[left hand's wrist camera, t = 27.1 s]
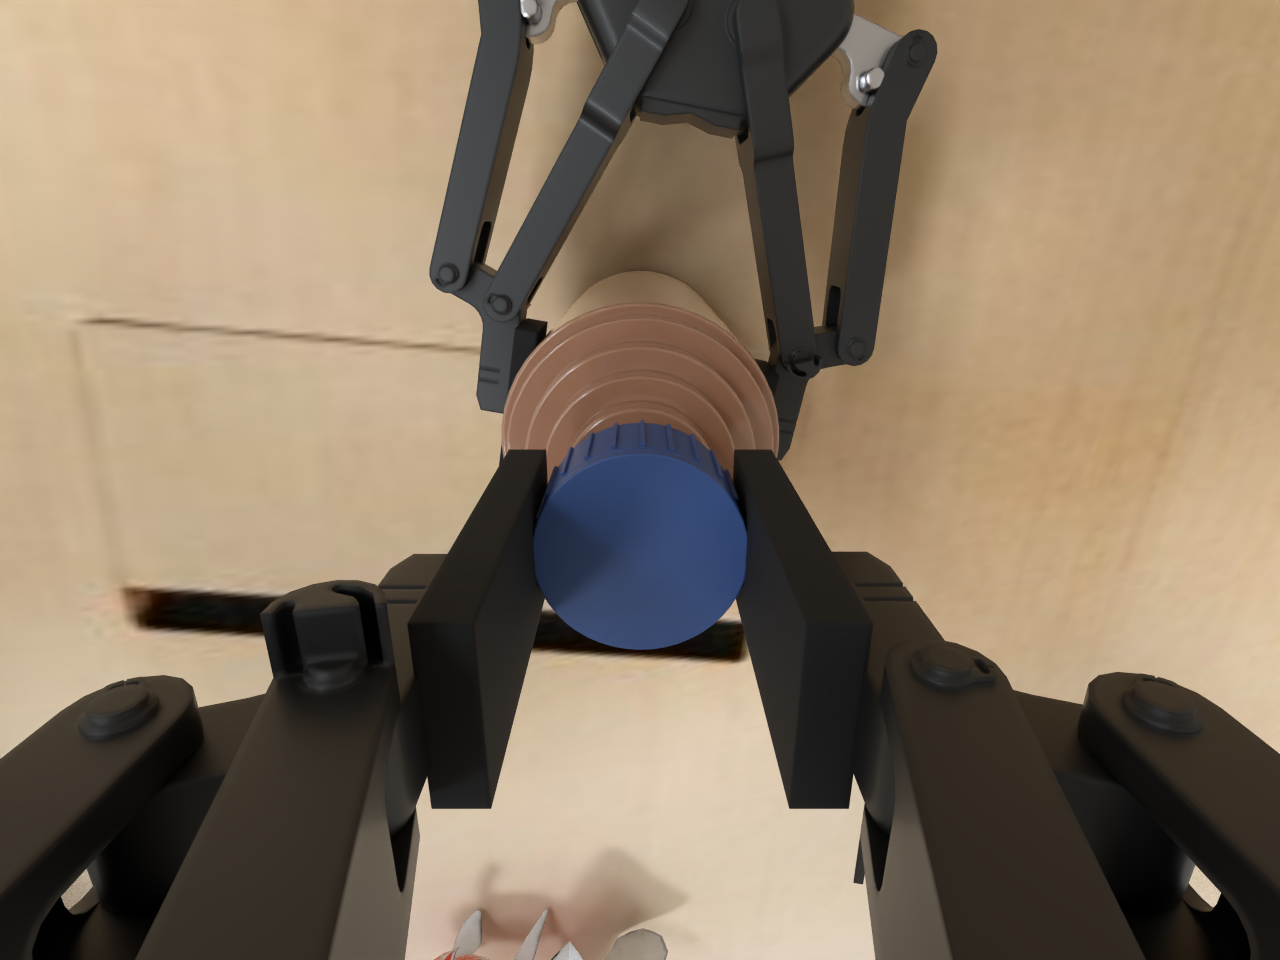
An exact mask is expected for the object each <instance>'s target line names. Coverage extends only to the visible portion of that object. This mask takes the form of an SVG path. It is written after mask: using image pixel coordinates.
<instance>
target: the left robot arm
mask: <svg viewBox="0 0 1280 960" xmlns="http://www.w3.org/2000/svg"><path fill="white" fill-rule="evenodd" d="M733 484H734V487H735V489H736V492H737V495H738V498H739V500H737V502H738V505H739V508H740V511H741V514H742V516H743V519H744V522H745V526H746V529H747V550H746V567H745V579H744V583H743V585H742V587H741V589H740V591H739V594H738V595H737V597H736V602H737V605H738V609H739V613H740V617H741V621H742V625H743V629H744V633H745V637H746V641H747V645H748V649H749V652H750V656H751V660H752V664H753V668H754V672H755V676H756V680H757V684H758V688H759V692H760V695H761V699H762V703H763V707H764V711H765V715H766V719H767V723H768V727H769V731H770V735H771V739H772V742H773V746H774V750H775V754H776V758H777V762H778V766H779V770H780V774H781V778H782V782H783V785H784V789H785V793H786V797H787V801H788V805H789V809H849V803H850V795H851V788H852V780H853V773H854V776H855V778H856V781H857V784H858V786H859V789H860V791H861V794H862V796H863V799H864V802H865V805H864V812H863V819H862V826H861V833H860V840H859V847H858V854H857V861H856V868H855V875H854V883H858V884H863V881H864V875H865V878H866V886H867V894H868V902H869V910H870V918H871V927H872V935H873V943H874V951H875V959H876V960H1280V754H1279V753H1278V752H1277V751H1275V750H1274V749H1273V748H1271V747H1270V746H1269V745H1268V744H1266V743H1265V742H1264V741H1263V740H1261V739H1260V738H1259V737H1257V736H1256V735H1255V734H1254V733H1252V732H1251V731H1250V730H1248V729H1247V728H1246V727H1245V726H1243V725H1242V724H1241V723H1240V722H1238V721H1237V720H1236V719H1234V718H1233V717H1232V716H1231V715H1229V714H1228V713H1227V712H1226V711H1224V710H1223V709H1222V708H1220V707H1219V706H1217V705H1215V704H1214V703H1212V702H1211V701H1209V700H1208V699H1206V698H1204V697H1203V696H1201V695H1200V694H1198V693H1196V692H1194V691H1191V690H1189V689H1187V688H1184V687H1182V686H1180V685H1177V684H1176V683H1175V682H1173V681H1170V680H1167V679H1163V678H1160V677H1158V678H1155V676H1152V675H1146V674H1135V673H1123V672H1115V673H1109V674H1104V675H1099V676H1097V677H1096V678H1095V679H1094V680H1093V681H1091V682H1090V683H1089V685H1088V688H1087V692H1086V696H1085V700H1084V703H1083V705H1082V704H1077V703H1072V702H1066V701H1061V700H1056V699H1051V698H1046V697H1041V696H1035V695H1031V694H1027V693H1023V692H1019V691H1015V690H1013V689H1012V687H1011V685H1010V683H1009V681H1008V679H1007V677H1006V676H1005V674H1004V673H1003V672H1002V671H1001V669H1000V668H999V667H998V666H997V665H996V663H994V662H993V661H991V660H990V659H988V658H987V657H985V656H983V655H982V654H980V653H979V652H977V651H975V650H972V649H970V648H967V647H964V646H962V645H959V644H957V643H953V642H948V641H945V640H944V639H943V638H942V636H941V635H940V633H939V632H938V631H937V629H936V628H935V627H934V625H933V624H932V623H931V621H930V620H929V618H928V617H927V616H926V614H925V613H924V612H923V610H922V609H921V608H920V606H919V605H918V603H917V602H916V601H913V597H912V595H911V594H910V593H909V591H908V590H907V588H906V587H903V583H902V582H901V580H900V579H899V578H898V576H897V575H896V573H895V572H894V571H893V569H892V568H891V567H890V566H889V565H887V564H886V563H884V562H883V561H881V560H879V559H878V558H876V557H875V556H873V555H871V554H870V553H868V552H831V550H830V548H829V547H828V545H827V543H826V542H825V540H824V538H823V537H822V535H821V533H820V531H819V530H818V528H817V526H816V525H815V523H814V521H813V519H812V518H811V516H810V514H809V513H808V511H807V509H806V508H805V506H804V504H803V502H802V501H801V499H800V497H799V496H798V494H797V492H796V490H795V489H794V487H793V485H792V484H791V482H790V480H789V479H788V477H787V475H786V473H785V472H784V470H783V468H782V467H781V465H780V463H779V461H778V460H777V458H776V456H775V455H774V453H773V451H772V449H734V464H733ZM547 485H548V475H547V455H546V449H509V450H508V452H507V454H506V455H505V457H504V459H503V460H502V462H501V464H500V466H499V467H498V469H497V471H496V472H495V474H494V476H493V478H492V479H491V481H490V483H489V484H488V486H487V488H486V490H485V491H484V493H483V495H482V496H481V498H480V500H479V501H478V503H477V505H476V507H475V508H474V510H473V512H472V513H471V515H470V517H469V519H468V520H467V522H466V524H465V525H464V527H463V529H462V531H461V532H460V534H459V536H458V537H457V539H456V541H455V542H454V544H453V546H452V548H451V549H450V551H449V553H448V554H413V555H411V556H410V557H408V558H407V559H405V560H404V561H402V562H400V563H399V564H397V565H396V566H394V567H392V568H391V569H390V570H389V571H388V573H387V574H386V576H385V577H384V578H383V580H382V581H381V582H380V584H379V585H378V586H376V585H375V584H371V583H367V582H363V581H359V580H336V581H330V582H324V583H318V584H312V585H310V586H307V587H304V588H301V589H298V590H295V591H292V592H289V593H288V594H286V595H284V596H282V597H280V598H279V599H277V600H275V601H273V602H272V603H271V604H270V605H269V606H268V607H267V608H266V609H265V610H264V611H263V612H262V613H261V614H260V617H261V622H262V626H263V631H264V636H265V640H266V645H267V649H268V654H269V659H270V663H271V668H272V673H273V677H274V678H273V680H272V682H271V684H270V686H269V688H268V690H267V692H266V694H262V695H258V696H254V697H250V698H246V699H241V700H235V701H230V702H225V703H220V704H215V705H210V706H205V707H200V708H198V705H197V701H196V697H195V694H194V690H193V687H192V686H191V685H190V684H189V683H187V682H186V681H185V680H184V679H182V678H177V677H171V676H166V675H161V676H149V677H137V678H131V679H127V681H124V680H122V681H119V682H116V683H113V684H110V685H107V686H106V687H104V688H103V689H100V690H98V691H96V692H93V693H91V694H89V695H86V696H84V697H83V698H81V699H79V700H78V701H76V702H75V703H73V704H72V705H70V706H68V707H67V708H65V709H64V710H62V711H61V712H59V713H58V714H57V715H56V716H54V717H53V718H52V719H50V720H49V721H48V722H47V723H45V724H44V725H43V726H42V727H40V728H39V729H38V730H37V731H35V732H34V733H33V734H32V735H30V736H29V737H28V738H26V739H25V740H24V741H23V742H21V743H20V744H19V745H18V746H16V747H15V748H14V749H13V750H11V751H10V752H9V753H7V754H6V755H5V756H4V757H2V758H1V759H0V960H405V952H406V944H407V936H408V928H409V920H410V912H411V904H412V896H413V888H414V880H415V872H416V864H417V856H418V847H419V839H420V834H419V827H418V819H417V812H416V804H417V801H418V799H419V796H420V794H421V791H422V788H423V786H424V783H425V781H426V778H427V777H428V784H429V792H430V799H431V807H432V809H491V807H492V803H493V799H494V795H495V791H496V787H497V783H498V779H499V776H500V772H501V768H502V764H503V760H504V756H505V752H506V748H507V744H508V740H509V736H510V732H511V729H512V725H513V721H514V717H515V713H516V709H517V705H518V701H519V697H520V693H521V689H522V685H523V682H524V678H525V674H526V670H527V666H528V662H529V658H530V654H531V650H532V646H533V642H534V638H535V635H536V631H537V627H538V623H539V619H540V615H541V611H542V607H543V603H544V599H545V597H544V595H543V594H542V592H541V590H540V587H539V585H538V582H537V580H536V575H535V560H534V542H533V534H534V529H535V526H536V523H537V521H536V516H537V513H538V510H539V507H540V505H541V502H542V499H543V496H544V493H545V491H546V488H547ZM1195 865H1196V866H1197V867H1198V868H1199V869H1200V870H1201V871H1202V872H1203V873H1204V874H1205V876H1206V877H1207V878H1208V879H1209V880H1210V881H1211V882H1212V883H1213V884H1214V885H1215V886H1216V887H1217V889H1218V890H1219V891H1220V892H1221V895H1220V897H1219V900H1218V902H1217V904H1216V906H1215V907H1214V908H1213V907H1211V906H1210V905H1209V904H1208V903H1207V902H1206V901H1204V900H1203V899H1202V898H1201V897H1200V896H1199V895H1198V894H1197V892H1196V891H1195V890H1194V889H1193V888H1192V887H1191V886H1190V885H1189V881H1190V878H1191V875H1192V872H1193V870H1194V867H1195ZM86 868H87V871H88V873H89V876H90V879H91V882H92V884H93V887H92V888H91V889H90V890H89V891H88V893H87V894H86V895H85V896H84V897H83V898H82V899H81V900H80V901H79V902H78V903H77V904H75V905H74V906H73V907H72V908H71V909H69V910H68V909H67V908H65V906H64V903H63V901H62V898H61V896H62V895H63V893H64V892H65V891H66V890H67V889H68V888H69V887H70V886H71V885H72V884H73V883H74V881H75V880H76V879H77V878H78V877H79V876H80V875H81V874H82V873H83V872H84V871H85V869H86Z"/></svg>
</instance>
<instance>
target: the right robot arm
mask: <svg viewBox="0 0 1280 960" xmlns="http://www.w3.org/2000/svg"><path fill="white" fill-rule="evenodd" d="M573 2H577V4H578V6H579V9H580V11H581V13H582V15H583V18H584V20H585V22H586V25H587V27H588V29H589V31H590V34H591V36H592V38H593V41H594V43H595V45H596V47H597V50H598V52H599V54H600V56H601V59H602V61H603V63H604V66H605V67H604V68H603V70H602V72H601V74H600V76H599V78H598V80H597V82H596V83H595V85H594V87H593V89H592V91H591V93H590V95H589V97H588V99H587V101H586V103H585V105H584V108H583V111H582V114H581V116H580V118H579V120H578V122H577V124H576V126H575V128H574V130H573V131H572V133H571V135H570V137H569V139H568V141H567V143H566V144H565V146H564V148H563V150H562V152H561V154H560V156H559V158H558V159H557V161H556V163H555V165H554V167H553V169H552V171H551V172H550V174H549V176H548V178H547V180H546V182H545V184H544V185H543V187H542V189H541V191H540V193H539V195H538V197H537V198H536V200H535V202H534V204H533V206H532V208H531V210H530V212H529V213H528V215H527V217H526V219H525V221H524V223H523V225H522V226H521V228H520V230H519V232H518V234H517V236H516V238H515V239H514V241H513V243H512V245H511V247H510V249H509V251H508V253H507V254H506V256H505V258H504V260H503V262H502V264H501V266H500V267H499V269H498V271H496V270H494V269H493V268H491V267H489V266H487V265H486V264H485V261H486V257H487V253H488V249H489V244H490V240H491V236H492V232H493V228H494V224H495V220H496V216H497V212H498V208H499V204H500V200H501V196H502V192H503V188H504V184H505V180H506V175H507V171H508V167H509V163H510V159H511V155H512V151H513V147H514V143H515V139H516V135H517V131H518V127H519V123H520V119H521V115H522V110H523V106H524V102H525V98H526V94H527V90H528V86H529V82H530V76H531V71H532V64H533V52H534V49H533V44H540V43H543V42H545V41H547V40H548V39H549V38H550V37H551V35H552V33H553V31H554V27H555V22H556V17H557V15H558V13H559V11H560V10H561V9H562V8H563V6H565V5H567V4H569V3H573ZM478 3H479V14H480V25H481V38H480V42H479V47H478V51H477V56H476V61H475V65H474V70H473V74H472V79H471V83H470V88H469V92H468V97H467V101H466V106H465V110H464V115H463V119H462V124H461V129H460V133H459V138H458V142H457V147H456V151H455V156H454V160H453V165H452V169H451V174H450V178H449V183H448V187H447V192H446V197H445V201H444V206H443V210H442V215H441V219H440V224H439V228H438V233H437V237H436V242H435V246H434V251H433V255H432V260H431V264H430V278H431V281H432V283H433V284H434V286H435V287H436V288H437V289H439V290H440V291H442V292H445V293H451V294H453V295H455V296H457V297H458V298H460V299H462V300H464V301H465V302H467V303H469V304H470V305H472V306H473V307H475V309H476V310H477V311H478V312H479V314H480V316H481V318H482V322H483V334H482V344H481V354H480V364H479V366H480V367H479V375H478V385H477V399H478V402H479V405H480V409H481V410H485V411H491V412H497V413H503V414H504V408H505V404H506V401H507V397H508V394H509V391H510V389H511V386H512V384H513V382H514V379H515V377H516V375H517V373H518V372H519V370H520V369H521V367H522V365H523V364H524V362H525V361H526V359H527V358H528V357H529V355H530V354H531V353H532V352H533V351H534V349H535V348H536V347H537V346H538V345H539V343H540V342H541V341H542V340H543V339H544V338H545V336H546V331H547V323H548V322H545V321H539V320H534V319H528V318H527V319H526V314H527V309H528V308H529V306H530V305H531V304H530V303H531V301H532V299H533V297H534V295H535V294H536V292H537V290H538V288H539V286H540V285H541V283H542V281H543V279H544V278H545V276H546V274H547V272H548V270H549V269H550V267H551V265H552V263H553V262H554V260H555V258H556V256H557V254H558V253H559V251H560V249H561V247H562V245H563V244H564V242H565V240H566V238H567V237H568V235H569V233H570V231H571V229H572V228H573V226H574V224H575V222H576V221H577V219H578V217H579V215H580V213H581V212H582V210H583V208H584V206H585V204H586V203H587V201H588V199H589V197H590V196H591V194H592V192H593V190H594V188H595V187H596V185H597V183H598V181H599V180H600V178H601V176H602V174H603V172H604V171H605V169H606V167H607V165H608V163H609V162H610V160H611V158H612V156H613V155H614V153H615V151H616V149H617V148H618V146H619V145H620V144H621V142H622V140H623V139H624V137H625V135H626V134H627V132H628V130H629V128H630V127H631V125H632V123H633V121H634V120H635V118H636V116H637V115H638V116H639V117H640V120H641V121H646V122H651V123H656V124H661V125H666V124H676V123H689V124H691V125H693V126H695V127H697V128H699V129H701V130H703V131H705V132H706V133H708V134H712V135H717V136H722V137H727V138H733V137H734V136H735V139H736V145H737V152H738V158H739V163H740V167H741V169H742V172H743V177H744V184H745V191H746V197H747V204H748V211H749V217H750V224H751V231H752V237H753V244H754V250H755V257H756V264H757V270H758V277H759V284H760V290H761V297H762V304H763V310H764V317H765V324H766V330H767V337H768V344H769V350H770V356H769V361H768V363H767V362H766V361H763V360H757V359H754V360H755V361H756V362H757V364H758V366H759V367H760V369H761V371H762V372H763V374H764V376H765V378H766V380H767V382H768V385H769V387H770V389H771V392H772V395H773V398H774V402H775V406H776V409H777V416H778V424H779V447H778V454H777V460H781V459H782V458H783V457H784V455H785V454H786V453H787V451H788V450H789V449H790V445H791V441H792V437H793V432H794V430H795V426H796V421H797V418H798V414H799V411H800V407H801V403H802V399H803V395H804V392H805V388H806V385H807V382H808V380H809V379H810V378H813V377H814V376H815V375H816V374H817V373H819V371H820V369H823V368H827V367H833V366H838V365H844V364H847V365H852V366H857V365H861V364H863V363H865V362H866V361H867V360H868V359H869V358H870V357H871V356H872V353H873V350H874V345H875V338H876V331H877V324H878V317H879V310H880V303H881V296H882V289H883V282H884V275H885V268H886V261H887V254H888V247H889V240H890V233H891V226H892V219H893V213H894V206H895V199H896V192H897V185H898V178H899V171H900V164H901V157H902V150H903V143H904V136H905V129H906V122H907V119H908V117H909V115H910V113H911V111H912V108H913V106H914V104H915V102H916V100H917V98H918V96H919V94H920V92H921V89H922V87H923V85H924V83H925V81H926V79H927V77H928V75H929V72H930V70H931V68H932V66H933V64H934V62H935V59H936V55H937V43H936V41H935V39H934V37H933V36H932V35H931V34H930V33H929V32H927V31H925V30H920V29H918V30H914V31H911V32H909V33H908V34H907V35H905V36H904V37H902V36H899V35H897V34H895V33H893V32H891V31H889V30H887V29H885V28H883V27H881V26H879V25H877V24H874V23H872V22H870V21H868V20H866V19H864V18H862V17H860V16H858V15H856V14H854V0H478ZM830 55H831V56H833V57H834V58H836V59H837V60H838V62H839V63H840V65H841V67H842V71H843V79H842V84H841V96H842V99H843V101H844V102H845V104H846V105H847V106H849V107H850V108H852V111H851V114H850V117H849V121H848V124H847V128H846V132H845V138H844V144H843V151H842V160H841V168H840V177H839V185H838V194H837V202H836V211H835V220H834V228H833V237H832V245H831V254H830V262H829V271H828V279H827V288H826V297H825V305H824V314H823V322H822V326H819V327H814V324H813V317H812V309H811V301H810V293H809V285H808V277H807V269H806V261H805V254H804V246H803V238H802V230H801V222H800V214H799V206H798V198H797V190H796V183H795V175H794V167H793V150H794V139H793V130H792V122H791V114H790V106H789V97H790V96H791V95H792V94H793V93H794V92H795V91H796V90H797V89H798V88H799V87H800V86H801V85H802V84H803V83H804V82H805V81H806V80H807V79H808V78H809V77H810V76H811V75H812V74H813V73H814V72H815V71H816V70H817V69H818V68H819V67H820V66H821V65H822V64H823V63H824V62H825V61H826V60H827V59H828V57H829V56H830ZM503 459H504V457H503V450H502V445H501V454H500V463H499V466H500V464H501V462H502V460H503Z"/></svg>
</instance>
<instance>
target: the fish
mask: <svg viewBox="0 0 1280 960" xmlns="http://www.w3.org/2000/svg"><path fill="white" fill-rule="evenodd" d="M547 913H548V910H547V909H545V911H544V912H543V914H542V915H541V917H540V918H539V920H538V921H537V922H536V924H535V925H534V927H533V928H532V930H531V931H530V933H529V934H528V936H527V937H526V939H525V941H524V943H523V944H522V946H521V948H520V950H519V952H518V954H517V955H516V957H515V959H514V960H534V956H535V953H536V949H537V945H538V942H539V938H540V935H541V932H542V928H543V925H544V922H545V919H546V916H547ZM481 941H482V928H481V911H479V910H477V911H475V912H474V913H473V914H472V915H471V916H470V917H469V918H468V920H467V921H466V922H465V923H464V925H463V926H462V928H461V929H460V931H459V933H458V935H457V937H456V940H455V944H454V948H453V950H451V951H449V952H446V953H444V954H442V955H441V956H439V957H438V958H436V959H434V960H489V959H487V958H484V957H481V956H478V955H472V954H473V953H474V952H475V951H476V950H477V948H478V947H479V945H480V944H481ZM667 953H668V950H667V948H666V945H665V943H664V940H663V938H662V936H661V935H659V934H657V933H655V932H652V931H649V930H646V929H639V930H636V931H632V932H629V933H627V934H625V935H623V936H621V937H619V938H618V939H617V940H616V942H615V944H614V946H613V948H612V949H611V951H610V953H609V955H608V956H607V957H606V959H605V960H666V957H667ZM551 960H584V959H583V958H582V957H581V956H580V954H579V953H578V952H577V950H576V949H575V948H574V946H573V945H572V944H571V942H570V941H569V942H568V943H567V944H566V945H565V946H564V947H563V948H562V949H561V950H560V951H559V952H558V953H557V954H556V955H555V956H554V957H553V958H552V959H551Z"/></svg>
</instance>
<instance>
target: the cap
mask: <svg viewBox="0 0 1280 960" xmlns="http://www.w3.org/2000/svg"><path fill="white" fill-rule="evenodd" d="M737 500H739V498H738V495H737V492H736V489H735V487H734V484H733V481H732V478H731V476H730V473H729V471H728V469H726V470H724V468H723V466H722V465H721V463H720V462H719V460H718V459H717V457H716V454H715V451H714V450H713V449H712V450H709V449H708V448H706V447H705V446H704V445H703V444H702V443H701V442H699V441H698V440H696V437H695V435H693V434H691V435H688V434H686V433H684V432H682V431H680V430H677V429H674V428H671V425H670V424H667V425H666V426H664V425H659V424H653V423H645V420H640V423H628V424H622V425H618V423H614V426H613V427H610V428H607V429H604V430H601V431H599V432H597V433H595V434H594V433H593V432H591V433H589V437H588V438H586V439H585V440H583V441H582V442H580V443H579V444H578V445H577V446H576V447H574V448H573V447H570V448H569V450H568V453H567V455H566V457H565V458H564V459H563V460H562V462H561V463H560V465H559V466H558V467H557V466H555V467H554V469H553V471H552V474H551V477H550V480H549V483H548V485H547V488H546V491H545V493H544V496H543V499H542V502H541V505H540V507H539V510H538V513H537V516H536V521H537V523H536V526H535V529H534V534H533V542H534V560H535V575H536V580H537V582H538V585H539V587H540V590H541V592H542V594H543V595H544V597H545V599H546V600H547V602H548V603H549V605H550V606H551V607H552V609H553V610H554V611H555V612H556V614H557V615H558V616H559V617H561V618H562V619H563V620H564V621H565V622H566V623H567V624H568V625H570V626H571V627H572V628H574V629H575V630H576V631H578V632H580V633H581V634H583V635H585V636H586V637H589V638H591V639H593V640H595V641H598V642H600V643H604V644H607V645H610V646H614V647H620V648H625V649H638V650H639V649H655V648H662V647H667V646H671V645H674V644H678V643H680V642H683V641H686V640H688V639H690V638H692V637H694V636H696V635H698V634H700V633H702V632H703V631H705V630H706V629H707V628H709V627H710V626H712V625H713V624H714V623H715V622H716V621H717V620H718V619H719V618H721V617H722V616H723V615H724V613H725V612H726V611H727V610H728V609H729V607H730V606H731V605H732V603H733V602H734V600H735V599H736V597H737V595H738V594H739V591H740V589H741V587H742V585H743V583H744V579H745V567H746V550H747V529H746V526H745V522H744V519H743V516H742V514H741V511H740V508H739V505H738V502H737Z"/></svg>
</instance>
